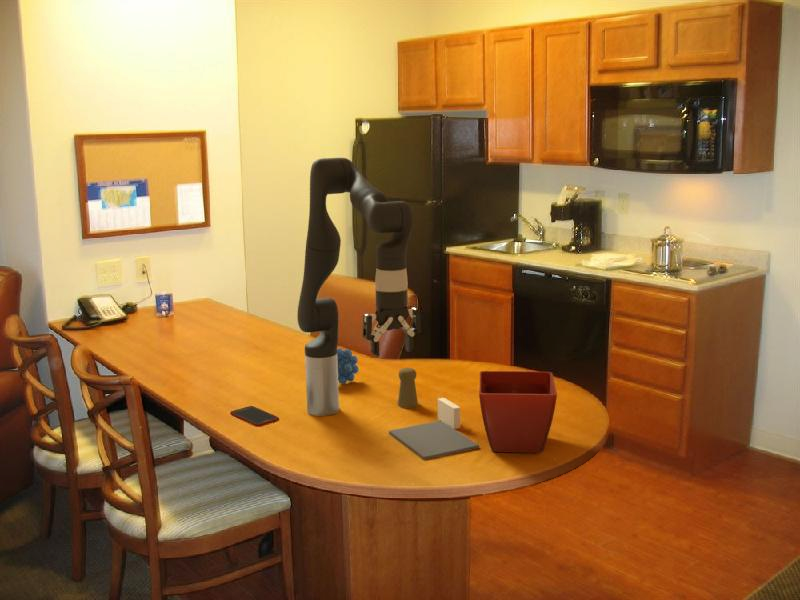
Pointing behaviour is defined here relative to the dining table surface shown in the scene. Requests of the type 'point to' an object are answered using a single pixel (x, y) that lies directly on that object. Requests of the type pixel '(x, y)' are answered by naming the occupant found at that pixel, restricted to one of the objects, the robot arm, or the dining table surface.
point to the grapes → (346, 365)
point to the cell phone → (254, 416)
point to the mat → (433, 440)
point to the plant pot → (517, 409)
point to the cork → (407, 388)
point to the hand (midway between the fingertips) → (392, 353)
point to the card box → (449, 413)
